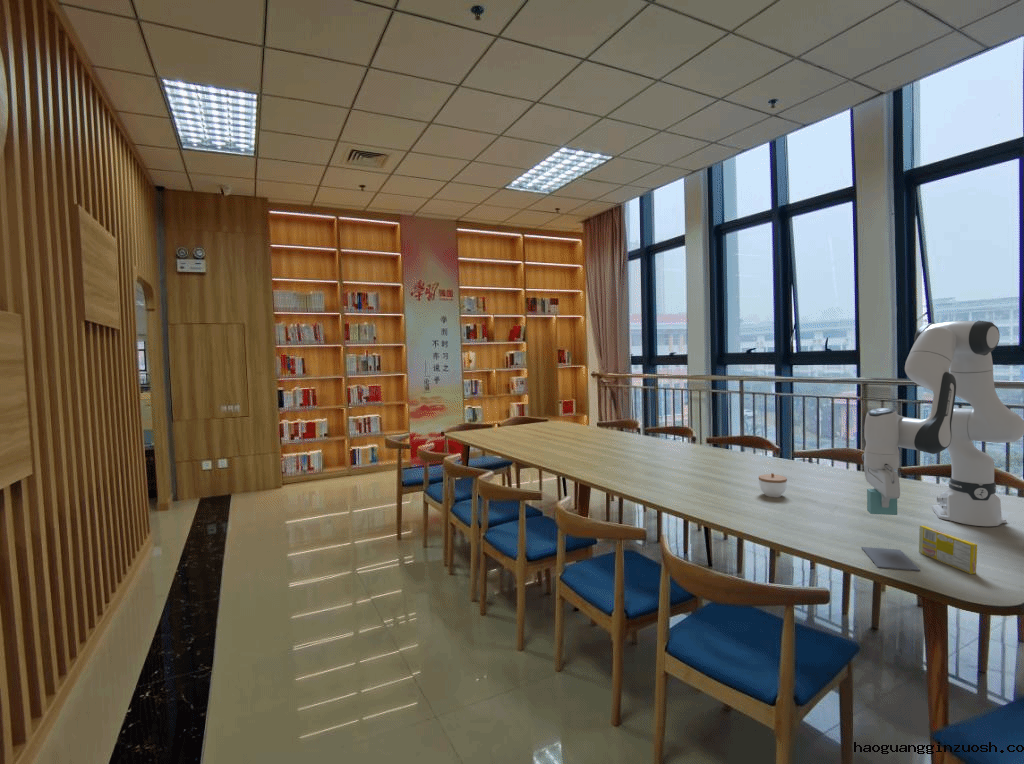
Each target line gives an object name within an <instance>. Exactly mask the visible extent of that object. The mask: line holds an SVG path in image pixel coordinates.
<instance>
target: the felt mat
mask: <svg viewBox="0 0 1024 764" xmlns="http://www.w3.org/2000/svg"><path fill="white" fill-rule="evenodd" d="M861 550H863V552H864V553H865V554H866V556H868V557H869V559H870V560H871V561H872V563H873V562H874V563H873V564H874V565H875V567H876V568H878V569H888V570H889V569H890V570H902V571H913V572H914V571H915V572H921V569H920V568H919V567H918V566H917V565H916V564H915V563H914V562H913V561H912V559H910V558H909V557H908V556H907V555H906V554H905V553H904V552H903V551H902V550H901V549H894V548H883V547H881V548H880V547H871V546H870V547H868V546H861Z"/></svg>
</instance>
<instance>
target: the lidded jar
mask: <svg viewBox="0 0 1024 764" xmlns="http://www.w3.org/2000/svg"><path fill="white" fill-rule="evenodd" d="M787 481H788V478H787V477H786V476H784V475H779V474H775V473H774V472H772V473H770V474H769V473H767V474H760V475H759V476H758V486H759V489H760V491H761V493H763V494H764V495H765V496H766V497H768V498H781V496H782V495H783V494H784V493H785V492H786V490H787Z"/></svg>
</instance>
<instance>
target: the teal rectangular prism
mask: <svg viewBox="0 0 1024 764" xmlns="http://www.w3.org/2000/svg"><path fill="white" fill-rule="evenodd" d="M881 499H882V496H881V493H880V492H878V491H877V490H876V489H874V488H866V510H867V512H868V513H869V514H870V515H886V516H887V515H889V516H898V499H891V498H890V501H889V507H888V508H885V507H882V506H881Z"/></svg>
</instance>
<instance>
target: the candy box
mask: <svg viewBox="0 0 1024 764" xmlns="http://www.w3.org/2000/svg"><path fill="white" fill-rule="evenodd" d="M918 536H919V537H918V553H919V554H922V555H925V556H927V557H929V558H931V559H933V560H934V559H935V560H936V561H938V562H941V563H943V564H945V565H948V566H951V567H953V568H955V569H957V570H961V571H963V572H964V573H966V574H969V575H976V574H977V561H978V544H977V543H974V542H971V541H968V540H965V539H963V538H960V537H957V536H955V535H951V534H949V533H946V532H944V531H941V530H938V529H935V528H932V527H929V526H926V525H919V535H918Z"/></svg>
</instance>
